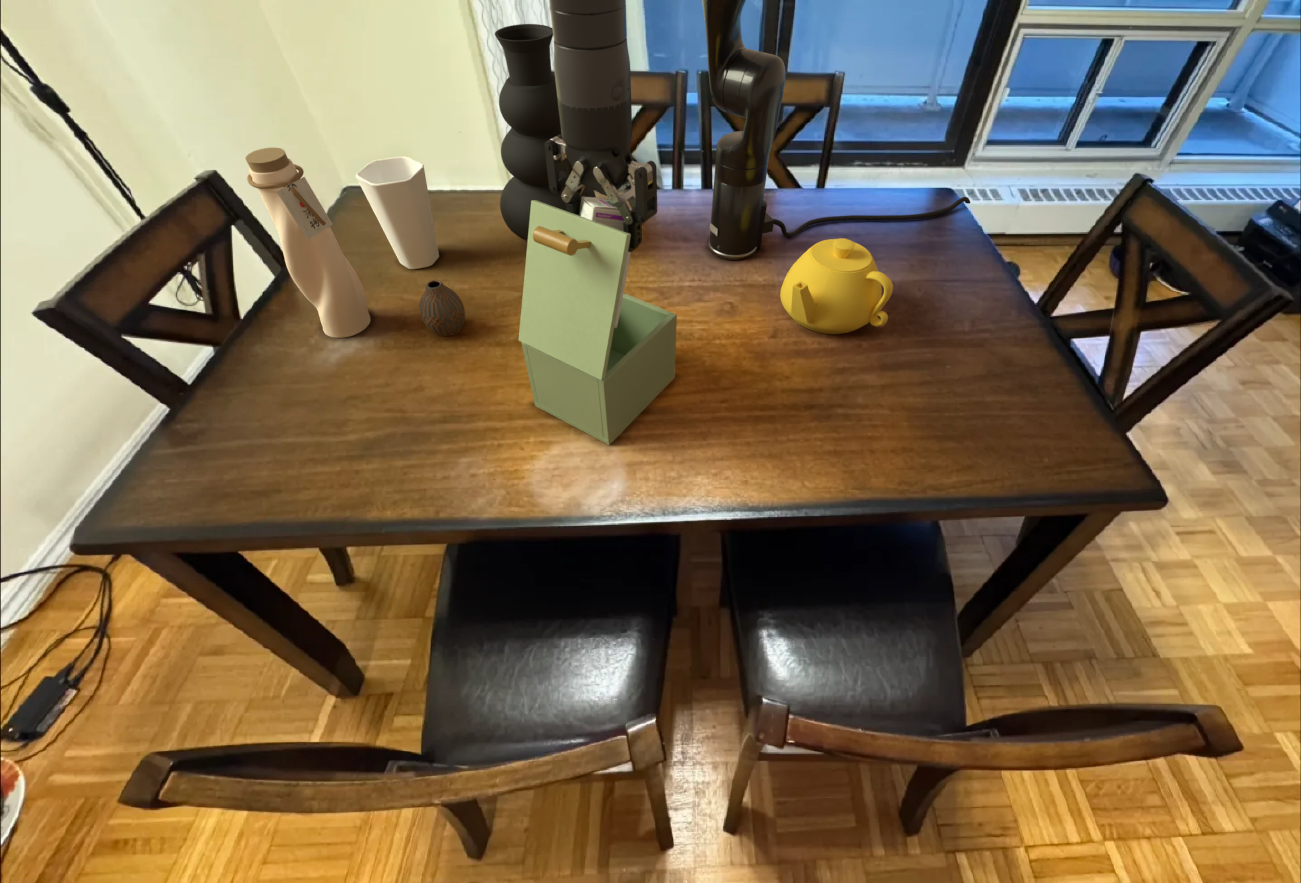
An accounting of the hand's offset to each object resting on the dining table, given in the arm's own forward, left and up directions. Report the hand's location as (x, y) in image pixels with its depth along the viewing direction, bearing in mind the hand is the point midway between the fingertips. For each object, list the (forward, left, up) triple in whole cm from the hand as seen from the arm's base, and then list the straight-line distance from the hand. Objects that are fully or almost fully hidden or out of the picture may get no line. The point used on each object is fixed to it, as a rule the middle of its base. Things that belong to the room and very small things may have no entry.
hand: (604, 238), depth 72 cm
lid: (+6, +4, -4) cm, 8 cm away
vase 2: (-4, -45, -24) cm, 51 cm away
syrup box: (+4, +2, -10) cm, 10 cm away
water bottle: (+36, -32, -24) cm, 54 cm away
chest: (+2, +1, -24) cm, 24 cm away
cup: (+22, -48, -24) cm, 58 cm away
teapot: (-39, -1, -24) cm, 46 cm away
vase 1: (+21, -24, -24) cm, 40 cm away
